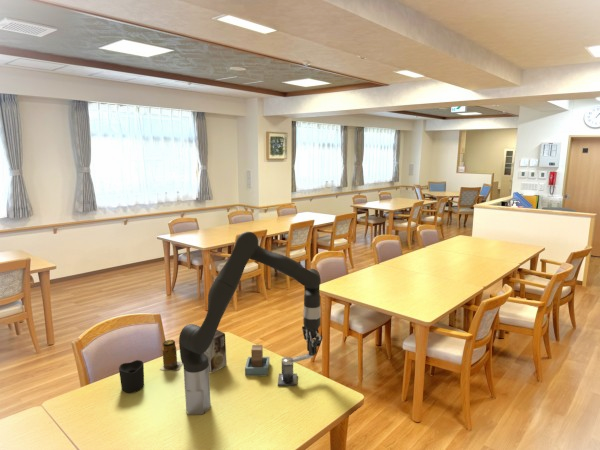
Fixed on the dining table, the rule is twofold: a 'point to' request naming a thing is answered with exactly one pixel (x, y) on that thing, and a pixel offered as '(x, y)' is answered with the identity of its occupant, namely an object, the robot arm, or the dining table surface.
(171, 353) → the condiment
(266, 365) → the tray
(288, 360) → the crank lever
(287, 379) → the crank pedestal
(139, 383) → the pen holder
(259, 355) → the block
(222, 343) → the coffee box
